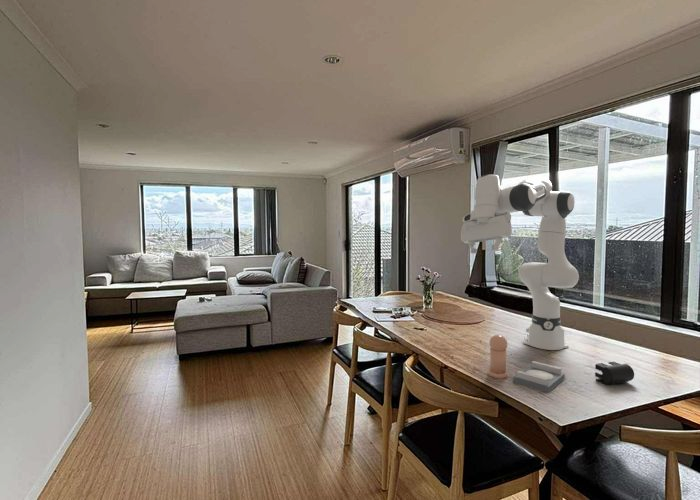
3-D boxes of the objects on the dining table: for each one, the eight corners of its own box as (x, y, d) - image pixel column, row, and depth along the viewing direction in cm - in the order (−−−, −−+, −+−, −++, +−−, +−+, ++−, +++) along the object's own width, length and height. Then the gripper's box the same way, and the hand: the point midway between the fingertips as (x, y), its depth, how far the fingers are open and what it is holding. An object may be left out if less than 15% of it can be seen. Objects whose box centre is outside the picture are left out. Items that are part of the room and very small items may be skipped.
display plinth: (530, 369, 145) (530, 359, 145) (564, 378, 136) (564, 368, 136) (513, 382, 134) (513, 371, 134) (548, 392, 125) (549, 381, 125)
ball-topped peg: (487, 370, 145) (488, 331, 144) (507, 372, 143) (507, 333, 142) (488, 377, 139) (488, 337, 138) (508, 379, 136) (509, 338, 135)
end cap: (611, 388, 128) (612, 369, 128) (593, 380, 135) (594, 362, 135) (634, 385, 131) (635, 366, 130) (615, 377, 137) (616, 359, 137)
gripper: (516, 212, 130) (515, 250, 127) (470, 222, 147) (468, 256, 145) (505, 207, 127) (503, 246, 124) (459, 218, 144) (456, 253, 142)
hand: (483, 252), depth 135 cm, fingers open, 8 cm apart
